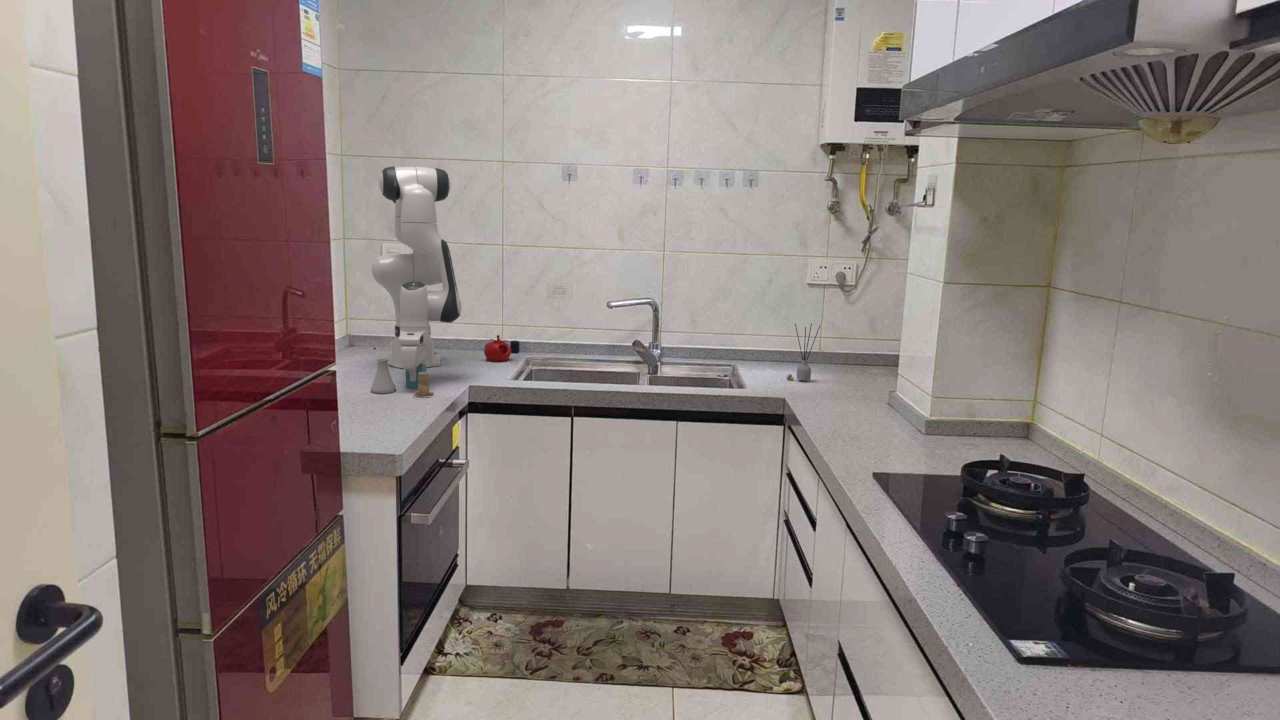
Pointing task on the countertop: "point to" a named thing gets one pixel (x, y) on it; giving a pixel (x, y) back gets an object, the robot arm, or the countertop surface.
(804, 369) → the reed diffuser
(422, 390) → the post
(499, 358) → the hollow red tomato
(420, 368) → the teal upright block
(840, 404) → the countertop surface
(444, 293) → the robot arm
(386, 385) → the flask
